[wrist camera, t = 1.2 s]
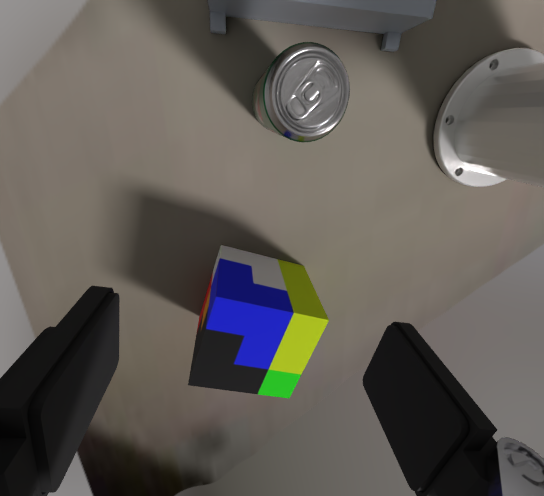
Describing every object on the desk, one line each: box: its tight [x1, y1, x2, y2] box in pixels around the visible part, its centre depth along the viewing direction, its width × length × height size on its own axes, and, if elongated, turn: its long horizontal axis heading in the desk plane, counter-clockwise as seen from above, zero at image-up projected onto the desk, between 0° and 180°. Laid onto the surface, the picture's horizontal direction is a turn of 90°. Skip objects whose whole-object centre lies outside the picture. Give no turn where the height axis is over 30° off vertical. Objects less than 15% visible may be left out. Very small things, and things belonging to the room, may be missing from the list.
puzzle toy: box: [188, 245, 329, 398], centre depth 30 cm, size 10×10×10 cm
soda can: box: [252, 42, 350, 142], centre depth 21 cm, size 5×5×12 cm
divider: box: [207, 0, 437, 52], centre depth 22 cm, size 16×4×5 cm, turn 86°
